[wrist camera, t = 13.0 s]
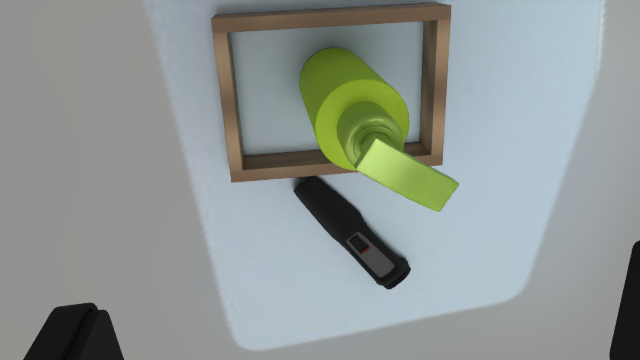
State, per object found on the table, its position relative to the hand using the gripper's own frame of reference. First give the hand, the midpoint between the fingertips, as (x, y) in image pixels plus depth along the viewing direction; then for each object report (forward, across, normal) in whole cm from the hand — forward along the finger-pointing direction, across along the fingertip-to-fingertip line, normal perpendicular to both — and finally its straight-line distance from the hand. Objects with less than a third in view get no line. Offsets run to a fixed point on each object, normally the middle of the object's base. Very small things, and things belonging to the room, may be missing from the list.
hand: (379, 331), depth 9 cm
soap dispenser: (+35, -4, +5) cm, 36 cm away
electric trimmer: (+35, -4, +19) cm, 40 cm away
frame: (+35, -3, +5) cm, 35 cm away
